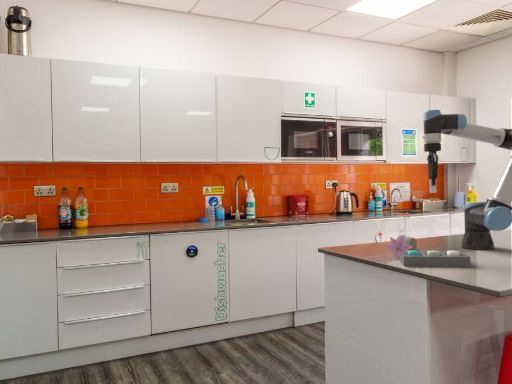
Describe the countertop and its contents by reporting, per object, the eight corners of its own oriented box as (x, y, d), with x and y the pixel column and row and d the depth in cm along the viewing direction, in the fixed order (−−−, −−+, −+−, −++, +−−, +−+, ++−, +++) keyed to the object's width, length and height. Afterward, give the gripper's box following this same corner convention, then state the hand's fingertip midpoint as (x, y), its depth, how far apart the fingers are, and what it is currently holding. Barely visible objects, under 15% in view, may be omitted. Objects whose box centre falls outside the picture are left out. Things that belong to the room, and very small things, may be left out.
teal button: (418, 259, 189) (418, 250, 189) (421, 261, 185) (420, 252, 184) (406, 259, 190) (406, 250, 190) (408, 261, 186) (408, 252, 185)
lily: (380, 259, 204) (385, 243, 199) (386, 246, 213) (390, 230, 208) (406, 268, 199) (412, 252, 195) (411, 254, 209) (416, 238, 204)
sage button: (438, 259, 188) (438, 250, 188) (441, 261, 183) (440, 252, 183) (426, 259, 189) (426, 250, 189) (428, 261, 184) (428, 252, 184)
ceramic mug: (410, 252, 213) (410, 237, 213) (395, 251, 219) (395, 235, 219) (420, 250, 221) (420, 235, 221) (405, 248, 227) (405, 234, 227)
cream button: (458, 259, 186) (458, 250, 186) (461, 262, 182) (461, 252, 181) (445, 259, 187) (445, 250, 187) (448, 262, 182) (448, 252, 182)
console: (462, 261, 189) (462, 252, 189) (470, 266, 178) (470, 256, 178) (399, 260, 194) (399, 251, 194) (403, 265, 183) (403, 256, 182)
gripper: (421, 144, 214) (422, 192, 215) (426, 142, 201) (427, 193, 202) (437, 143, 213) (438, 192, 213) (444, 141, 200) (444, 192, 201)
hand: (433, 192), depth 208 cm, fingers closed
